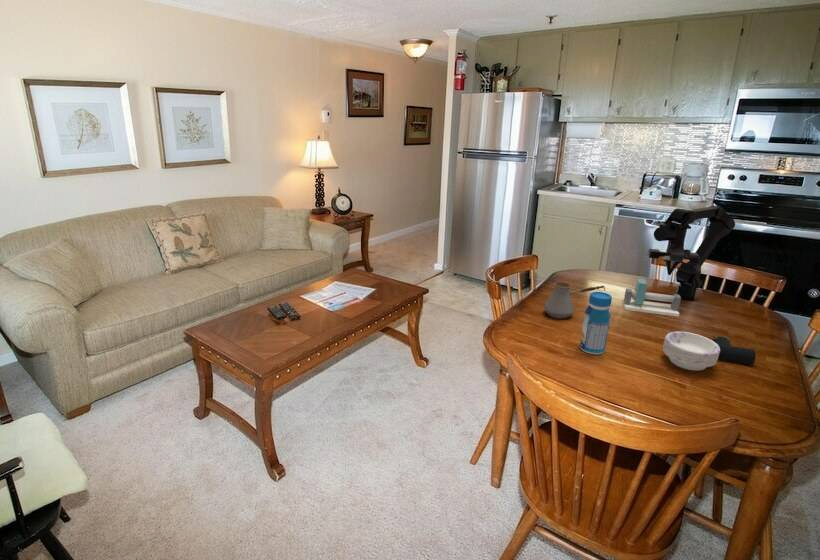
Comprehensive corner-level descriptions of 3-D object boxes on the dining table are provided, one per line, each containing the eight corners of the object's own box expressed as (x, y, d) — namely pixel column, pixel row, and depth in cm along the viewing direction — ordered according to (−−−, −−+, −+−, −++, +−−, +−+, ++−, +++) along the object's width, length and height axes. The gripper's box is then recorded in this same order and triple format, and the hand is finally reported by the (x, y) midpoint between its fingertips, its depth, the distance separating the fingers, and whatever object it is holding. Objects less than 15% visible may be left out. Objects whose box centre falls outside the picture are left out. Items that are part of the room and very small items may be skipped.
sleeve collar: (641, 299, 192) (645, 279, 189) (643, 304, 186) (647, 284, 183) (633, 298, 193) (637, 278, 190) (635, 303, 187) (639, 283, 184)
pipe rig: (674, 307, 190) (677, 292, 188) (678, 316, 181) (682, 300, 179) (622, 301, 196) (625, 286, 194) (624, 309, 187) (627, 293, 185)
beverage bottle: (593, 357, 149) (602, 301, 142) (573, 346, 156) (581, 292, 149) (610, 352, 153) (620, 297, 146) (590, 341, 160) (599, 288, 153)
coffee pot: (541, 317, 179) (545, 281, 174) (546, 307, 189) (550, 273, 184) (598, 328, 170) (605, 290, 165) (600, 316, 180) (606, 281, 175)
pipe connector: (696, 330, 158) (746, 337, 153) (692, 343, 160) (742, 351, 155) (702, 344, 148) (757, 353, 143) (699, 359, 150) (752, 367, 145)
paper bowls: (714, 381, 136) (721, 358, 134) (658, 366, 144) (663, 344, 141) (714, 360, 149) (720, 338, 146) (662, 347, 156) (667, 327, 154)
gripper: (654, 241, 184) (647, 277, 189) (707, 246, 178) (698, 283, 183) (650, 235, 194) (644, 270, 199) (700, 239, 188) (692, 275, 193)
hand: (669, 274), depth 193 cm, fingers closed
